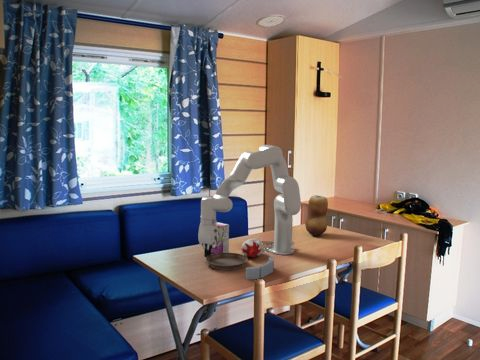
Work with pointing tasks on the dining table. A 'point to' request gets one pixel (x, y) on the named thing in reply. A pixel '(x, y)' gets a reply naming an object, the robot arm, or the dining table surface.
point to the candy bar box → (222, 239)
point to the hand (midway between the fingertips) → (207, 256)
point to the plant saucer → (226, 261)
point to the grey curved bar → (260, 270)
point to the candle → (251, 248)
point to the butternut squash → (317, 215)
